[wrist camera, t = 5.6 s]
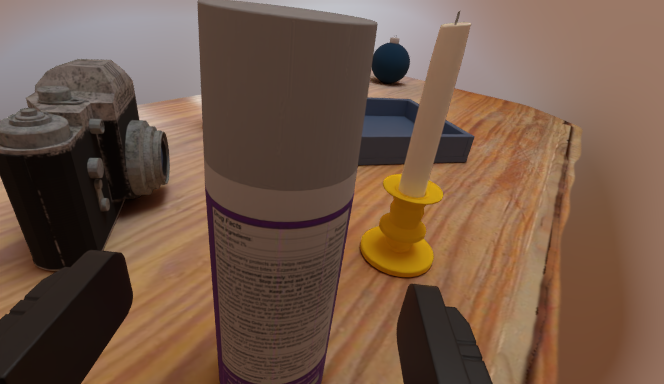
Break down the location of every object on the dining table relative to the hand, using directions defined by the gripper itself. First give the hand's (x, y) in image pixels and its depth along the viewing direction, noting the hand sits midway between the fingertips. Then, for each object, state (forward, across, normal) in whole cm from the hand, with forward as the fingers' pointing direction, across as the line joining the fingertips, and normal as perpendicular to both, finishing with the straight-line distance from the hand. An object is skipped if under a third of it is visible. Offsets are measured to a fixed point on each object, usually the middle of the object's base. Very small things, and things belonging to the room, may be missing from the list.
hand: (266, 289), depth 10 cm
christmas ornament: (+74, -14, +8) cm, 76 cm away
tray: (+36, -8, +8) cm, 38 cm away
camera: (+15, +14, +8) cm, 22 cm away
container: (+3, 0, +8) cm, 9 cm away
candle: (+12, -7, +8) cm, 17 cm away
